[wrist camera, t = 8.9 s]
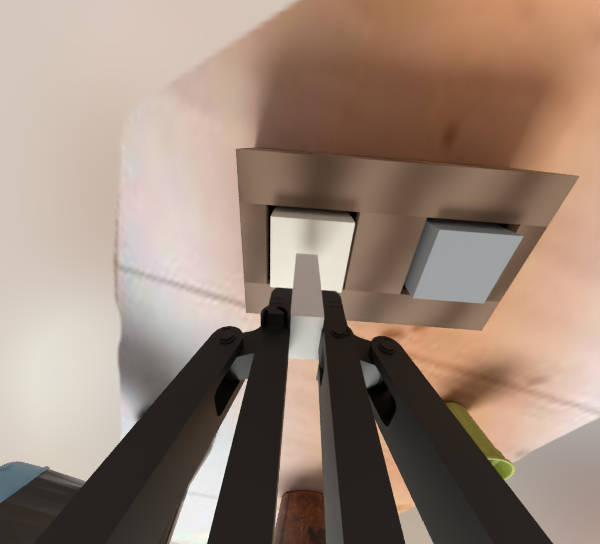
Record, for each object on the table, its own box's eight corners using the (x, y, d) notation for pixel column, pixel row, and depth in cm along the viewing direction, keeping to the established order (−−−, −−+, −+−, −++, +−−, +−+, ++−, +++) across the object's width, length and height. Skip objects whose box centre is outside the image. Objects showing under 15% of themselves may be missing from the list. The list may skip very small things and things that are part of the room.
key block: (258, 280, 27) (246, 312, 22) (254, 147, 20) (236, 149, 15) (448, 294, 27) (481, 330, 22) (509, 167, 20) (579, 176, 15)
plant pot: (418, 397, 38) (445, 461, 30) (479, 392, 36) (524, 457, 29) (415, 427, 42) (439, 489, 34) (469, 423, 41) (506, 487, 33)
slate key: (396, 274, 22) (412, 298, 19) (416, 214, 19) (439, 229, 16) (456, 278, 22) (483, 303, 19) (485, 219, 19) (523, 236, 16)
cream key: (276, 264, 22) (270, 287, 19) (277, 203, 19) (270, 216, 16) (336, 269, 22) (341, 292, 19) (346, 208, 19) (355, 223, 16)
